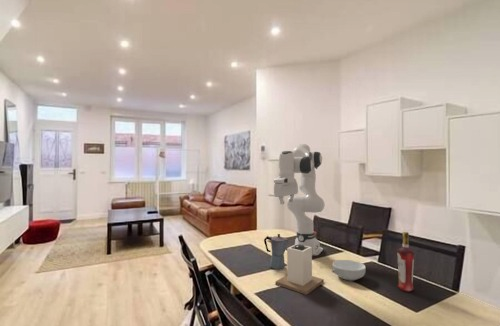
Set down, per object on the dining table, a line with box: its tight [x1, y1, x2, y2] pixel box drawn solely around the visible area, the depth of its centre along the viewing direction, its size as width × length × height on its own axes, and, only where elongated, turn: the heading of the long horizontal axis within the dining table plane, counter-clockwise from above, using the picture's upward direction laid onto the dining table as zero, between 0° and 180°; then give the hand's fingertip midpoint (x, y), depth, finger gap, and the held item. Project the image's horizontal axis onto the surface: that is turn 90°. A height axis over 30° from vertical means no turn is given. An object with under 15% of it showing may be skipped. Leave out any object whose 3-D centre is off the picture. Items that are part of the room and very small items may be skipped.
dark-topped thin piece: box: [294, 244, 304, 251], centre depth 148 cm, size 6×6×17 cm
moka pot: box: [263, 233, 290, 271], centre depth 171 cm, size 10×15×20 cm, turn 78°
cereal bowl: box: [332, 259, 367, 282], centre depth 155 cm, size 17×17×7 cm
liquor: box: [396, 231, 415, 293], centre depth 140 cm, size 7×7×28 cm
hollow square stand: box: [274, 243, 325, 295], centre depth 148 cm, size 18×18×18 cm
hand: (286, 203), depth 165 cm, fingers open, 8 cm apart
